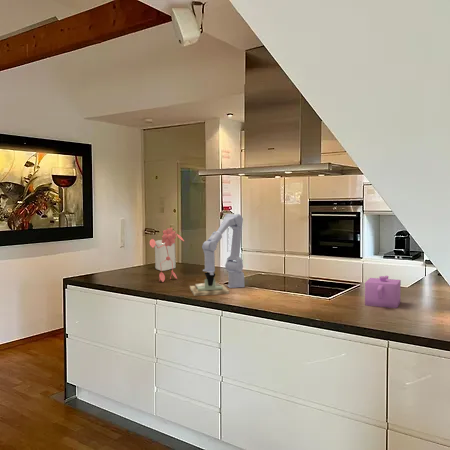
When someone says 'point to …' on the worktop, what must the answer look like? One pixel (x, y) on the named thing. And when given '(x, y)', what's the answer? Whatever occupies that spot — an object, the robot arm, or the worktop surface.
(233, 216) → the robot arm
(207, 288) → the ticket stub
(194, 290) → the board
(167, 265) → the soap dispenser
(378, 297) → the teapot
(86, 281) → the worktop surface
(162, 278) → the figurine
